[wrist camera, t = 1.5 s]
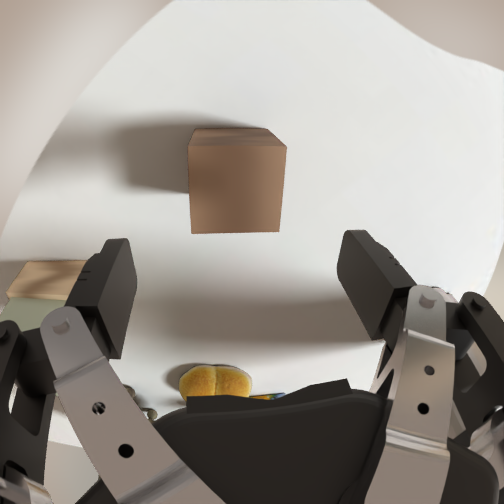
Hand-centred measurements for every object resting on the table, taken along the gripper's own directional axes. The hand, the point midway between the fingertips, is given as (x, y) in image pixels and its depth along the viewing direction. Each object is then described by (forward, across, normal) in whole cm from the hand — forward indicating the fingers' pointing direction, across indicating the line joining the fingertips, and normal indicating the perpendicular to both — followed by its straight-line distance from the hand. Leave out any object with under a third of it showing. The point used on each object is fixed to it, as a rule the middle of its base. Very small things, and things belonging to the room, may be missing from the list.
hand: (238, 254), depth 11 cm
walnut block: (+12, 0, 0) cm, 12 cm away
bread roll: (+12, +2, +27) cm, 29 cm away
